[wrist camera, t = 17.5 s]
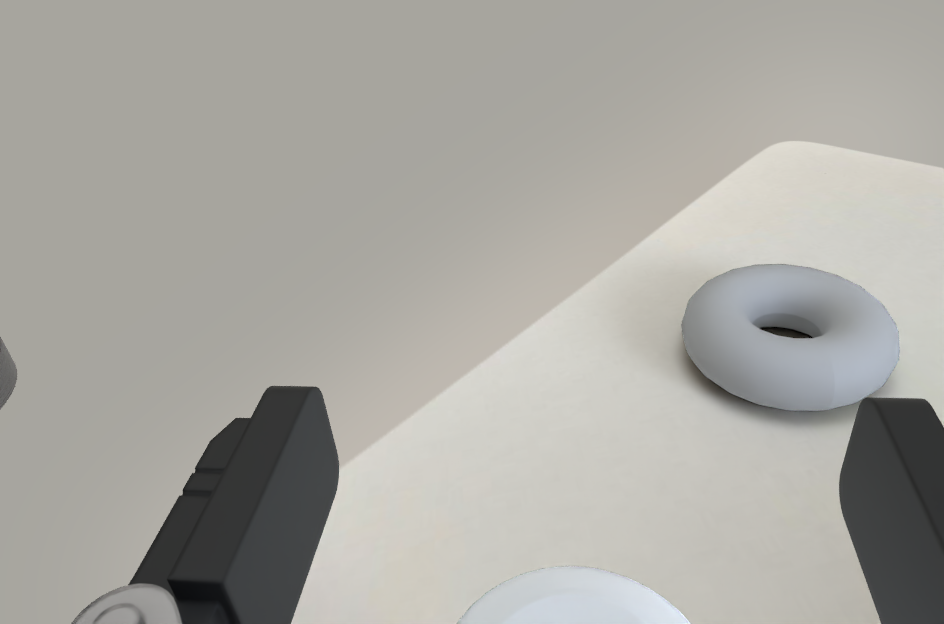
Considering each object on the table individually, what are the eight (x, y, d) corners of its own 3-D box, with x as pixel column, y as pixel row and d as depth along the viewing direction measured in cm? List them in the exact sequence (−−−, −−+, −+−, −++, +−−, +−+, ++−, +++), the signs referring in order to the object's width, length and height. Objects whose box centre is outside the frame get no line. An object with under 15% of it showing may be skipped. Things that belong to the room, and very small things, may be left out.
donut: (790, 288, 43) (640, 334, 41) (801, 235, 42) (645, 280, 39) (939, 388, 36) (767, 454, 33) (961, 328, 34) (780, 393, 31)
